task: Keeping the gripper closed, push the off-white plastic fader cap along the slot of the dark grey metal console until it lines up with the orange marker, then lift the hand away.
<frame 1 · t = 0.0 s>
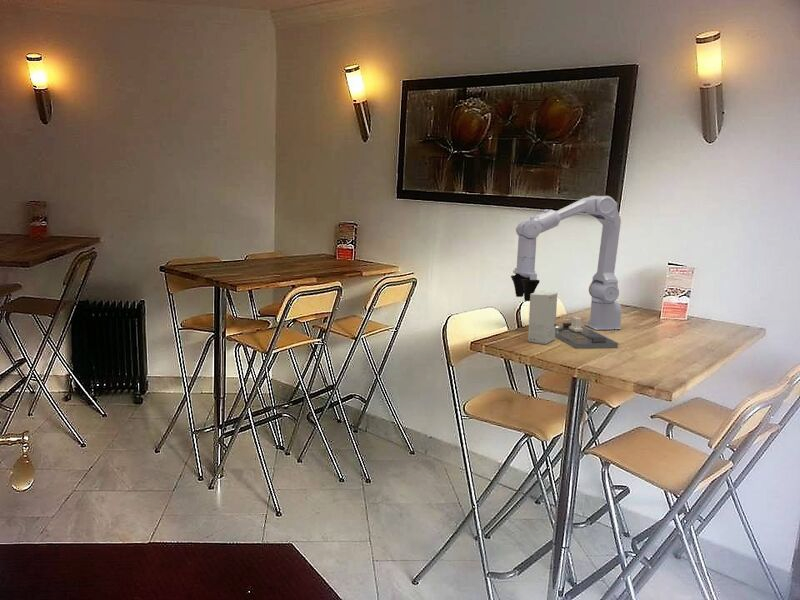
hand: (523, 298, 194), 10 cm above the table, tool pointing down, fingers open, 7 cm apart
fader: (576, 323, 188), point 4 cm above the table, slide at -5.0 cm
console: (579, 339, 184), on the table
skincare box: (541, 341, 181), on the table
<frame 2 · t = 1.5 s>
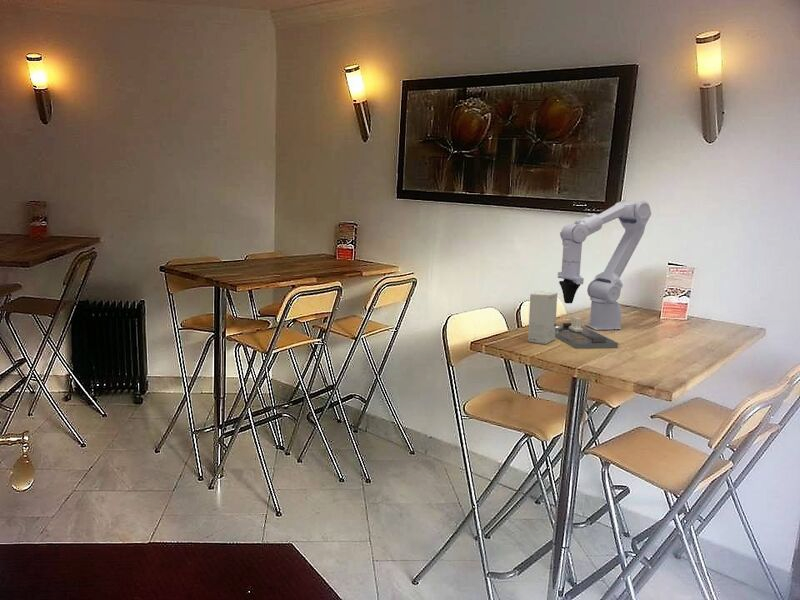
hand: (568, 303, 194), 9 cm above the table, tool pointing down, fingers closed
nothing on the table moved.
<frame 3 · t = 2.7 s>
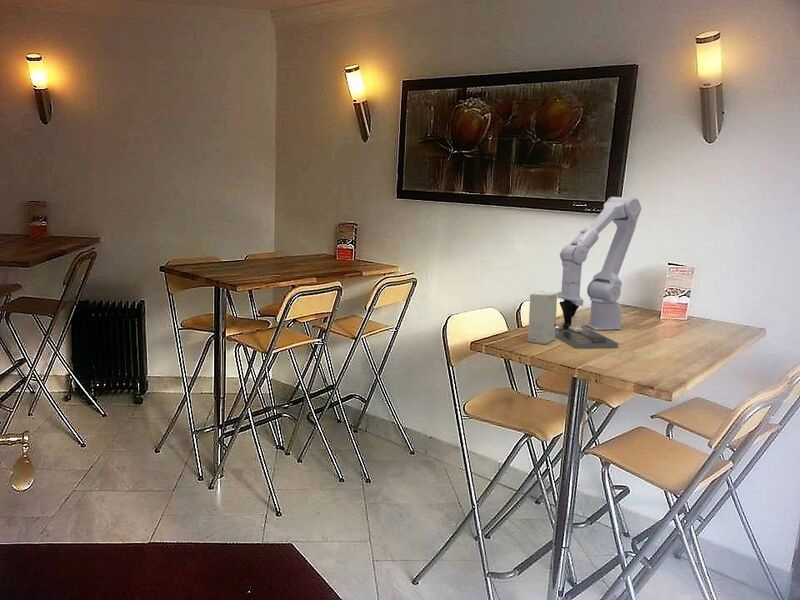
hand: (568, 323, 194), 3 cm above the table, tool pointing down, fingers closed, pressing on console
nothing on the table moved.
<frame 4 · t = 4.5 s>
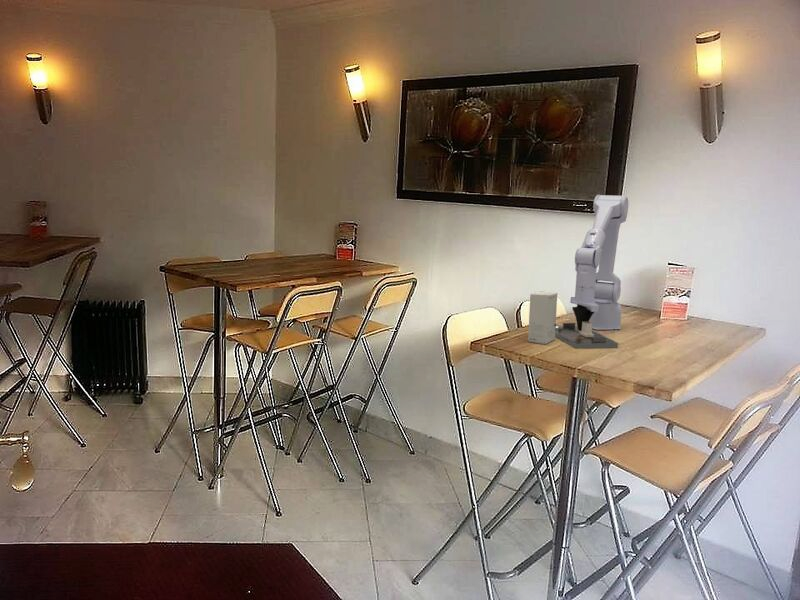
hand: (581, 330, 184), 3 cm above the table, tool pointing down, fingers closed
fader: (586, 328, 181), point 4 cm above the table, slide at 2.2 cm, touching gripper
everything else where it was.
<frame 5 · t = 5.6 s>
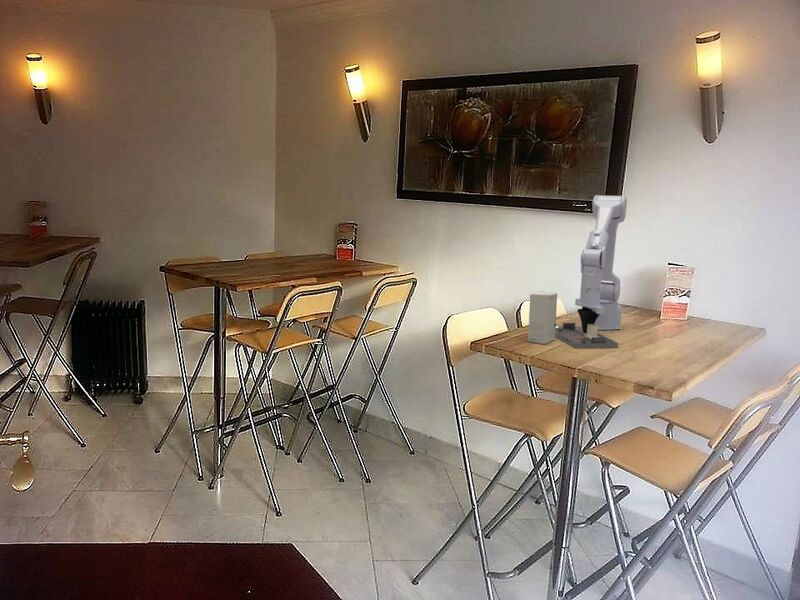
hand: (587, 332, 181), 3 cm above the table, tool pointing down, fingers closed
fader: (592, 331, 178), point 4 cm above the table, slide at 5.5 cm, touching gripper
everything else where it was.
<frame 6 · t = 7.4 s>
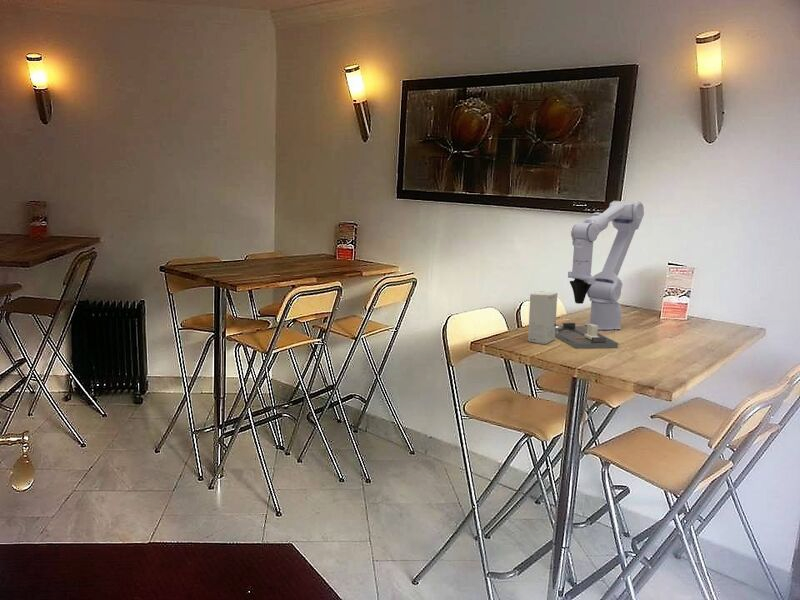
hand: (579, 303, 190), 10 cm above the table, tool pointing down, fingers closed
fader: (592, 331, 178), point 4 cm above the table, slide at 5.5 cm
everything else where it was.
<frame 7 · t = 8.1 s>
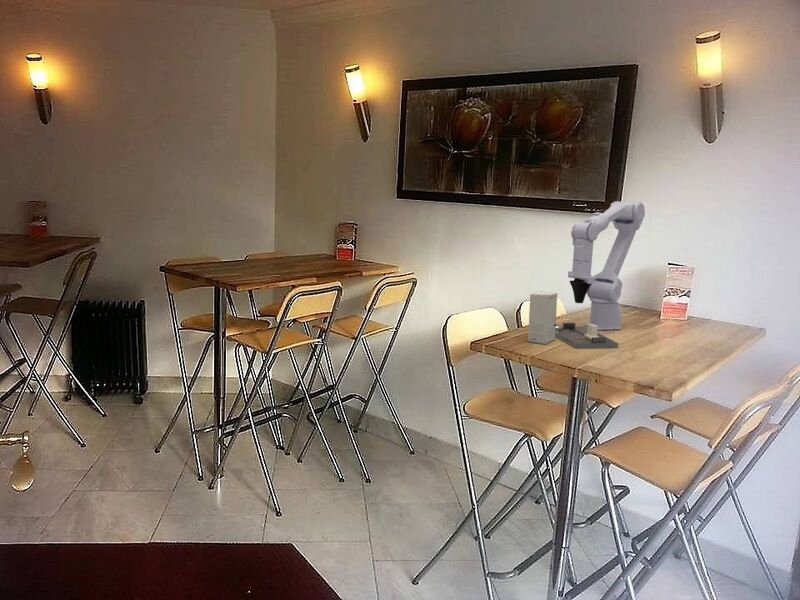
hand: (578, 302, 190), 10 cm above the table, tool pointing down, fingers closed
nothing on the table moved.
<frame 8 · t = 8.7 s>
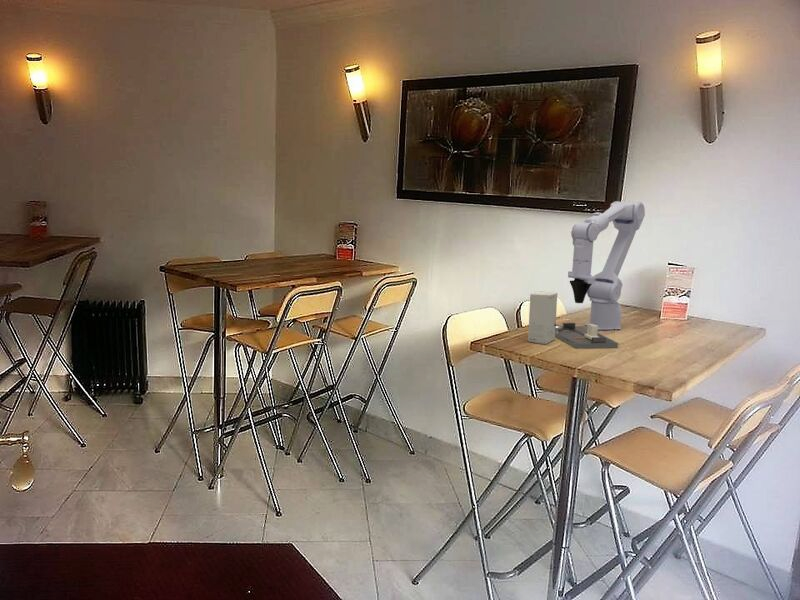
hand: (578, 302, 190), 10 cm above the table, tool pointing down, fingers closed
nothing on the table moved.
at the end: fader slide at 5.5 cm; fader touching nothing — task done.
